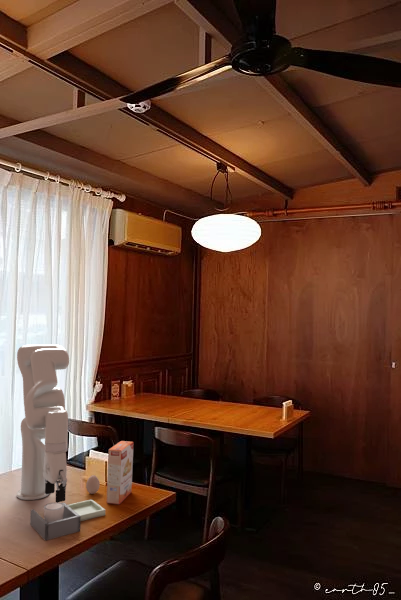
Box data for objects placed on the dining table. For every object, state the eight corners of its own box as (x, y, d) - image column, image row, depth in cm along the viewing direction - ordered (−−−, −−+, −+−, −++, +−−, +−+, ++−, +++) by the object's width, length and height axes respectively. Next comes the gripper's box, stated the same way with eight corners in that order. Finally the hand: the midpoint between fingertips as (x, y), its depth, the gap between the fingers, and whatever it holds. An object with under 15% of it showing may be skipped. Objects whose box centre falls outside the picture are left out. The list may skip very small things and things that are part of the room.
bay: (30, 524, 170) (30, 509, 170) (63, 516, 177) (64, 502, 177) (45, 540, 158) (45, 524, 158) (80, 531, 165) (80, 516, 166)
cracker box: (120, 505, 188) (122, 450, 189) (105, 503, 189) (107, 449, 190) (132, 492, 202) (134, 441, 202) (118, 490, 203) (120, 440, 204)
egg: (84, 495, 197) (84, 477, 197) (87, 491, 202) (88, 473, 202) (97, 496, 197) (98, 477, 197) (100, 491, 202) (101, 473, 202)
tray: (62, 511, 181) (62, 506, 181) (91, 504, 188) (91, 499, 188) (74, 522, 172) (75, 516, 172) (105, 515, 179) (105, 509, 179)
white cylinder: (38, 528, 167) (39, 507, 167) (51, 520, 173) (52, 500, 173) (55, 532, 164) (55, 511, 164) (68, 524, 170) (68, 504, 171)
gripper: (36, 443, 174) (35, 492, 173) (54, 453, 160) (53, 507, 159) (57, 440, 178) (56, 488, 177) (76, 450, 164) (75, 502, 164)
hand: (55, 497), depth 168 cm, fingers open, 9 cm apart
